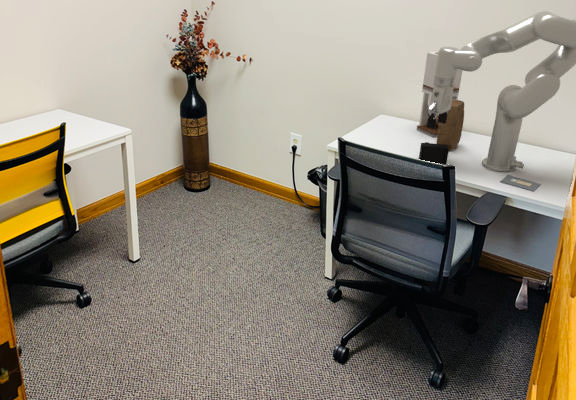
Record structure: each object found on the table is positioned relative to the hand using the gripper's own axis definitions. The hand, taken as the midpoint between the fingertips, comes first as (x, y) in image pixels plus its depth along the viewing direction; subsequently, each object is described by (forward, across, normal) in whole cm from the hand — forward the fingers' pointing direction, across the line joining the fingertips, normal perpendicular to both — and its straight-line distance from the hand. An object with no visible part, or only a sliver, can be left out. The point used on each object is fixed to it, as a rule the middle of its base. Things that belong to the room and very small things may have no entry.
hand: (436, 125), depth 210 cm
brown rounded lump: (+15, +19, +1) cm, 24 cm away
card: (+14, +2, -35) cm, 37 cm away
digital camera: (+15, 0, -1) cm, 15 cm away
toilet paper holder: (+15, +33, +14) cm, 39 cm away
